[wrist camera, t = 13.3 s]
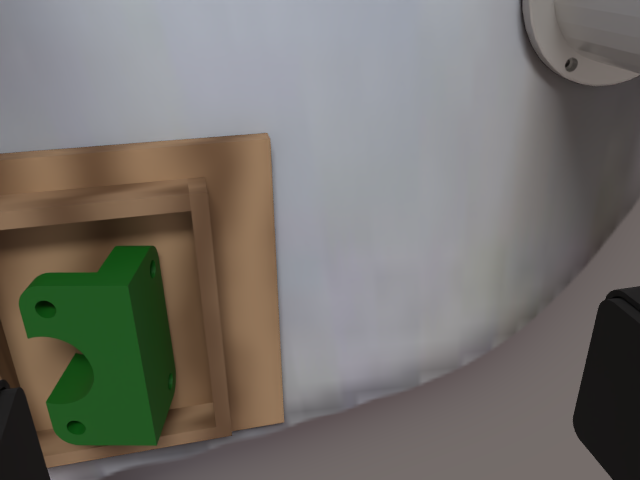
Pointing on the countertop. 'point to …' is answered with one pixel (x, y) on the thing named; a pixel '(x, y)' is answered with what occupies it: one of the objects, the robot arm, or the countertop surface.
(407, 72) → the countertop surface
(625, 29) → the robot arm
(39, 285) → the clamp
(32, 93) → the countertop surface
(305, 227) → the countertop surface
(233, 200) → the brown shallow square tray
